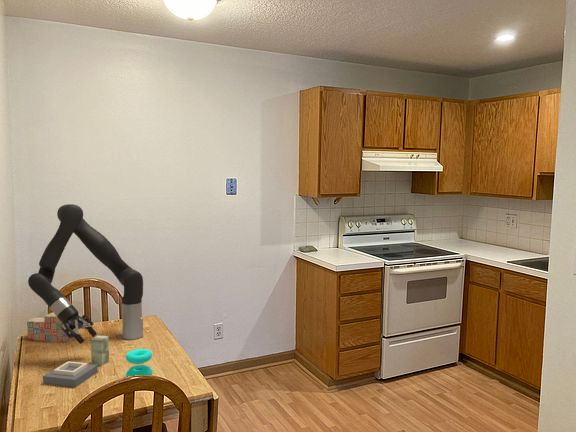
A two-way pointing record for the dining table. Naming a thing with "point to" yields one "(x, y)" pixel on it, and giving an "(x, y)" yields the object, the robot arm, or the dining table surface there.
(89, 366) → the plinth
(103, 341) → the pillar
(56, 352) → the dining table surface
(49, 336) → the stack of blocks
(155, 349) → the dining table surface
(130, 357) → the donuts
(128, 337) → the robot arm
